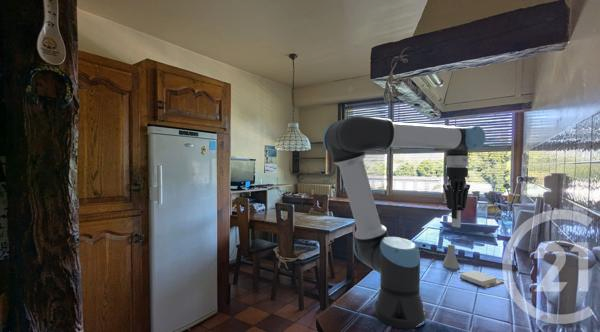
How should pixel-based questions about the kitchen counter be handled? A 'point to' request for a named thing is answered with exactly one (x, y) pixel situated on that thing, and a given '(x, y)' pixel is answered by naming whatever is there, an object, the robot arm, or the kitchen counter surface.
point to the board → (489, 284)
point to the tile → (478, 277)
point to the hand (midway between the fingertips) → (456, 226)
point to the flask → (451, 259)
